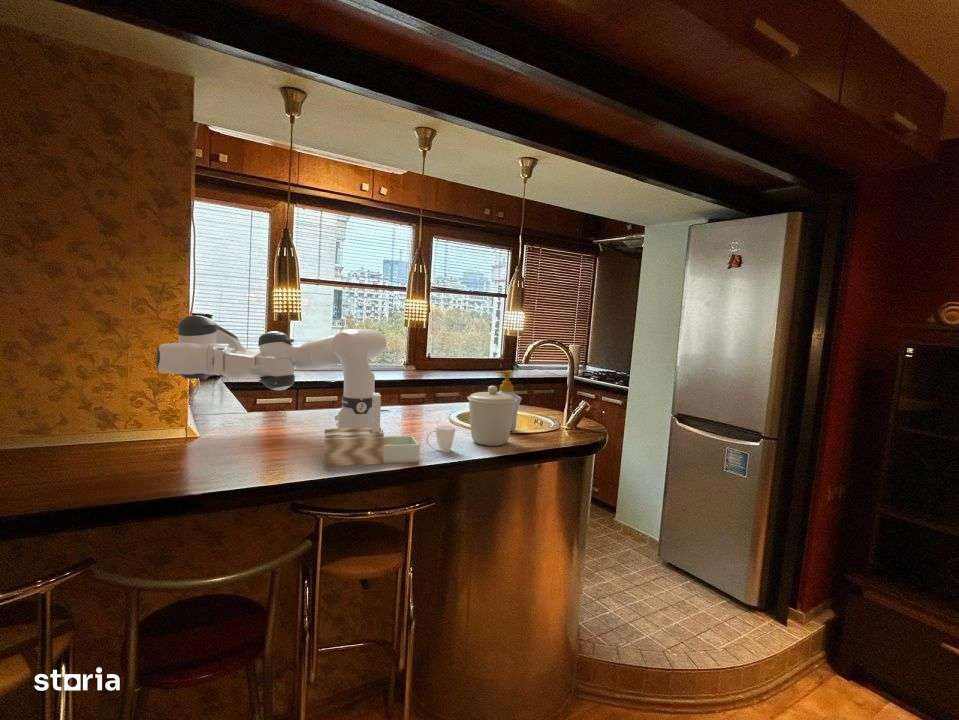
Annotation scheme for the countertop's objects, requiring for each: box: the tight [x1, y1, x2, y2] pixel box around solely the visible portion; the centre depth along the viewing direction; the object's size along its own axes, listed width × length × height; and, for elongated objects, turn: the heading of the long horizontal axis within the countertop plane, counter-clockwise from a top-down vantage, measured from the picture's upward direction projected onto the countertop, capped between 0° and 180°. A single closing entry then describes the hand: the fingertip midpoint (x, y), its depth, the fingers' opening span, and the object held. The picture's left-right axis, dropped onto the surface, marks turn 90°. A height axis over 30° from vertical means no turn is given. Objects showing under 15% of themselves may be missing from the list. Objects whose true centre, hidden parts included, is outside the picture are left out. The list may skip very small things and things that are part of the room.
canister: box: [466, 385, 517, 447], centre depth 179 cm, size 18×18×21 cm
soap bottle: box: [496, 369, 523, 432], centre depth 200 cm, size 13×13×25 cm
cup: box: [426, 424, 457, 453], centre depth 166 cm, size 7×10×8 cm
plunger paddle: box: [371, 392, 382, 433], centre depth 152 cm, size 2×6×12 cm, turn 18°
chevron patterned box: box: [323, 427, 385, 467], centre depth 151 cm, size 17×11×9 cm
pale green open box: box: [382, 435, 420, 465], centre depth 155 cm, size 11×11×6 cm
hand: (274, 360), depth 143 cm, fingers closed
